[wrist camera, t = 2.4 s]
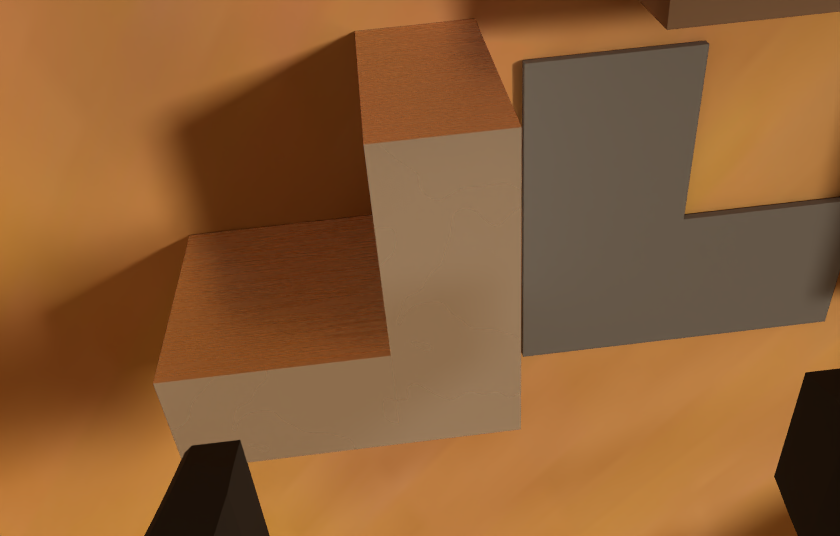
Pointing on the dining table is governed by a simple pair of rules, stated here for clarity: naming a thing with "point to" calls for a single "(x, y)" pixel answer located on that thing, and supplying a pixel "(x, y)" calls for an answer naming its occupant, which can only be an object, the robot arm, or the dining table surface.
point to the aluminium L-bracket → (369, 279)
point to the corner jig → (731, 10)
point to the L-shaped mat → (648, 214)
